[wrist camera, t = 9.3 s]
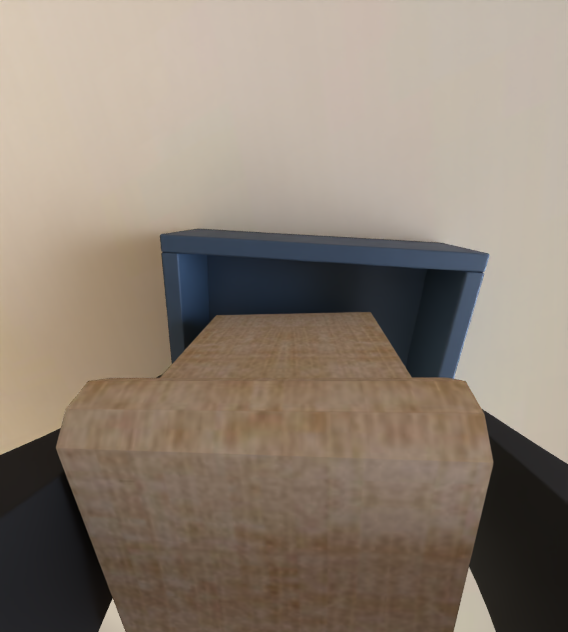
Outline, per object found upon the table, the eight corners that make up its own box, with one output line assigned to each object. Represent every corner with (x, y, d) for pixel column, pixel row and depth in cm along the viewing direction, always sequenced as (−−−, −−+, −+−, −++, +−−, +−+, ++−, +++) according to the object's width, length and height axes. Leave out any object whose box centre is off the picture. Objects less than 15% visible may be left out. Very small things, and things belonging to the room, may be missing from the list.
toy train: (261, 532, 19) (213, 859, 9) (232, 271, 13) (28, 425, 4) (348, 537, 18) (392, 887, 9) (358, 266, 12) (514, 433, 3)
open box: (370, 549, 19) (384, 619, 16) (212, 530, 20) (193, 594, 16) (442, 242, 12) (490, 253, 9) (197, 228, 13) (158, 234, 10)
